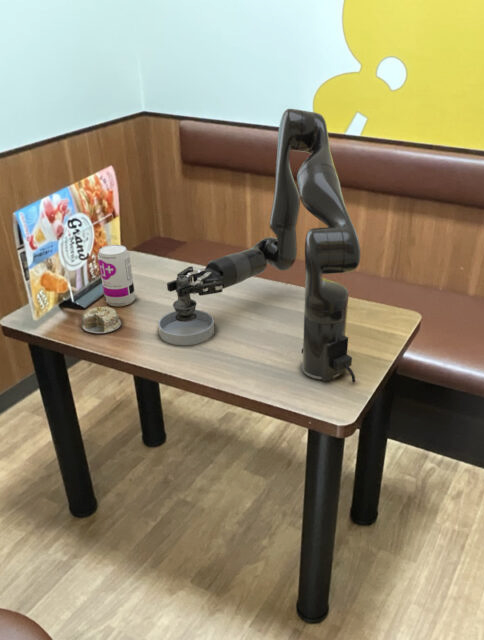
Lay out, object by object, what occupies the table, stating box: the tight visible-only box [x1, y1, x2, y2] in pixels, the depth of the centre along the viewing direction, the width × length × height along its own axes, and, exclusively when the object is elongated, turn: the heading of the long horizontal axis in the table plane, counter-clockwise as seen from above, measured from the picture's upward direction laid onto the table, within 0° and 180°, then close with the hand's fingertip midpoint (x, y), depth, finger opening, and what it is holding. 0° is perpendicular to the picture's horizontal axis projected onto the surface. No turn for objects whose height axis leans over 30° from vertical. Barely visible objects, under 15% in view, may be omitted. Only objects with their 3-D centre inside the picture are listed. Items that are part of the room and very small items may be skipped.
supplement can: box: [97, 244, 136, 308], centre depth 164 cm, size 8×8×15 cm
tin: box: [157, 309, 215, 346], centre depth 153 cm, size 14×14×3 cm
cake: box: [81, 306, 122, 334], centre depth 155 cm, size 10×10×5 cm
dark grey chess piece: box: [172, 271, 198, 322], centre depth 148 cm, size 6×6×12 cm
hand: (173, 290), depth 145 cm, fingers closed on dark grey chess piece, 3 cm apart
